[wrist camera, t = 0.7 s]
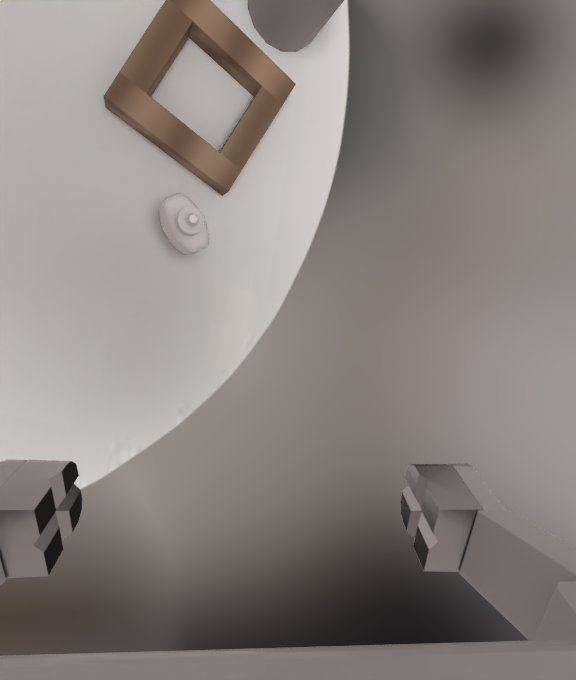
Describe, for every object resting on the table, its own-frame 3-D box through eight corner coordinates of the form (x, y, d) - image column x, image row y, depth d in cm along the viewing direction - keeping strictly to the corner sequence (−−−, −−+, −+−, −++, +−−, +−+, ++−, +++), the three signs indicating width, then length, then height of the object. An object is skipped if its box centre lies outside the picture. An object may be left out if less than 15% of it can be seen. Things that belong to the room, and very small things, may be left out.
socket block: (106, 107, 40) (103, 96, 37) (179, -7, 40) (183, -27, 37) (222, 195, 45) (228, 191, 43) (286, 94, 46) (295, 83, 43)
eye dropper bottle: (198, 204, 45) (219, 186, 34) (199, 255, 46) (219, 253, 35) (158, 201, 43) (165, 181, 32) (159, 253, 44) (167, 251, 33)
